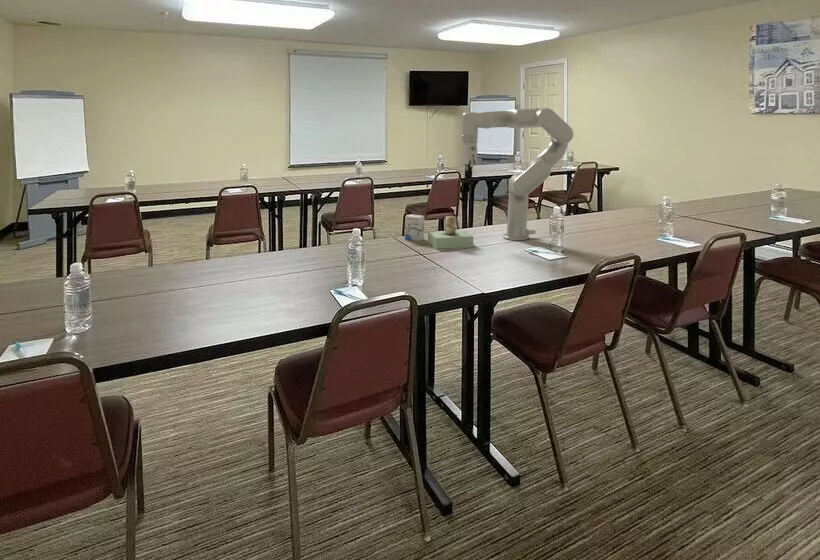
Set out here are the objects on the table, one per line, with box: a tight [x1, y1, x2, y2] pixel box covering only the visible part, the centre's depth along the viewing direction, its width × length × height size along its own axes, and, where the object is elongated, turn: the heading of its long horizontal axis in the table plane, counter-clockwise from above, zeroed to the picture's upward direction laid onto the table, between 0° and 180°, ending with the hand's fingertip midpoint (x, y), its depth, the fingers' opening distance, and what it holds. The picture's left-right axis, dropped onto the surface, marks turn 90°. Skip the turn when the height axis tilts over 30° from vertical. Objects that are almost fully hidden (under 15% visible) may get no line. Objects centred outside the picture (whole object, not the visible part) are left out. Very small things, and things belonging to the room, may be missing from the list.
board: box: [427, 229, 474, 250], centre depth 258 cm, size 18×14×5 cm
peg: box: [444, 215, 457, 235], centre depth 256 cm, size 5×5×12 cm
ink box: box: [404, 213, 426, 242], centre depth 267 cm, size 9×5×12 cm, turn 62°
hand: (468, 178), depth 264 cm, fingers closed
